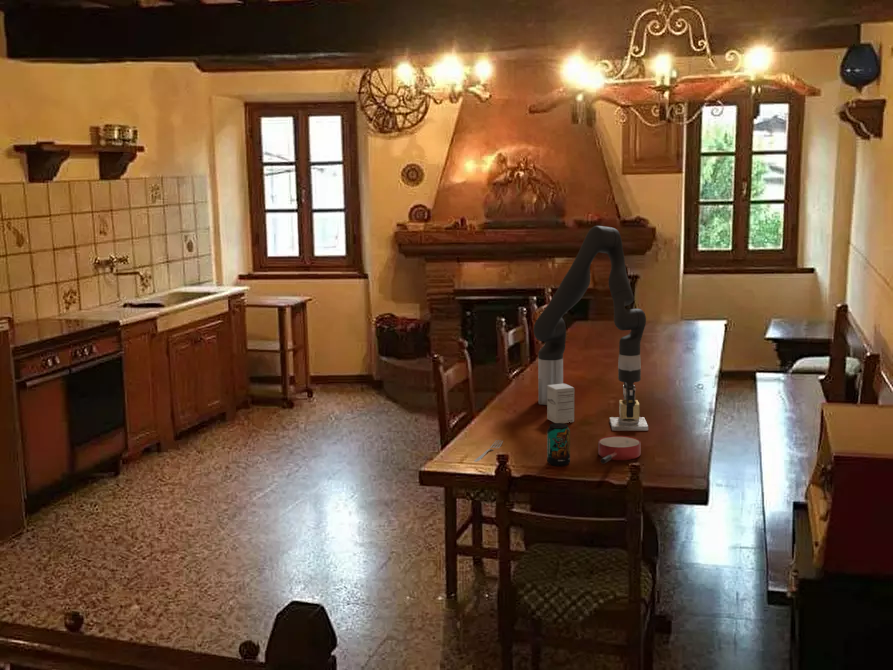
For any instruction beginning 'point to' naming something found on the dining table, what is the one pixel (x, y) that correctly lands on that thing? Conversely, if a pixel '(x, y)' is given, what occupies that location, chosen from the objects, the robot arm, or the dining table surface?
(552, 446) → the beverage can
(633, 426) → the shaft stand
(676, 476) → the dining table surface
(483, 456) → the fork
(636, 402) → the box
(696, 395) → the dining table surface
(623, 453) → the frying pan
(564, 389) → the supplement box
